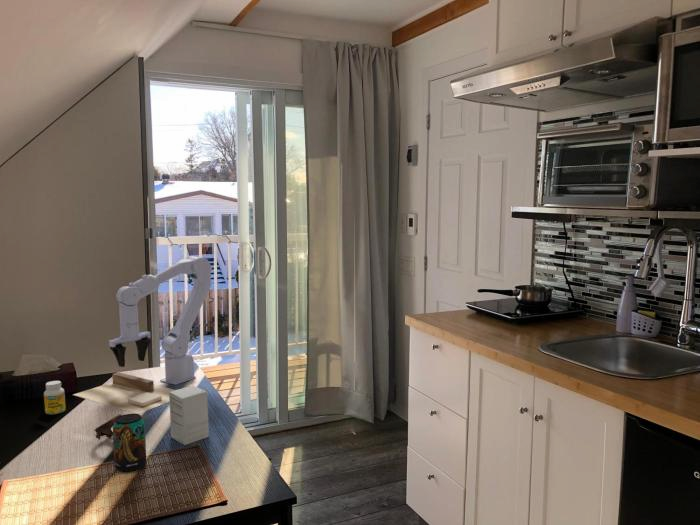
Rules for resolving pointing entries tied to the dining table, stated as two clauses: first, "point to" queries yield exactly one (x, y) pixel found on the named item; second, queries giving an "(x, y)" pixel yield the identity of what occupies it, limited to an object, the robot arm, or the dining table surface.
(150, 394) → the tile
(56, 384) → the supplement bottle
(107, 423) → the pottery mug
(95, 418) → the dining table surface
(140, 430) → the beverage can
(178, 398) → the supplement box
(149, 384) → the brown wooden bar
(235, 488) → the dining table surface
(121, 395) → the board
